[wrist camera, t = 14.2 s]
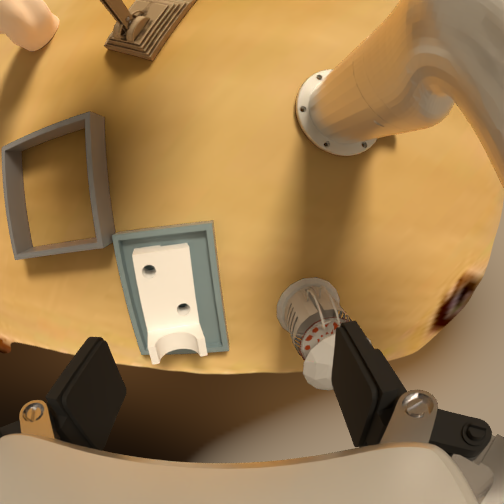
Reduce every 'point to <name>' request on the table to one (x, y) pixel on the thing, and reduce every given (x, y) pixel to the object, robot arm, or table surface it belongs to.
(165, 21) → the banker's lamp
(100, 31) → the table surface
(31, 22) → the water bottle
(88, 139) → the bin
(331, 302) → the french press
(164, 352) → the bracket
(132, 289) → the tray
